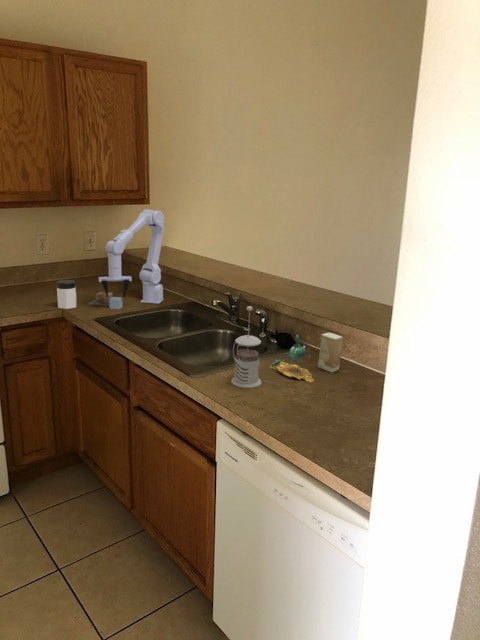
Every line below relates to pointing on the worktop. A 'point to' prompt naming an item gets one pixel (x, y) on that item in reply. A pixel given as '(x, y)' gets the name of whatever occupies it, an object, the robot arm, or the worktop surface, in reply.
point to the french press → (246, 361)
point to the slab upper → (104, 295)
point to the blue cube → (116, 302)
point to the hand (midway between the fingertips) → (115, 296)
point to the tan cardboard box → (102, 301)
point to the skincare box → (330, 352)
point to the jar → (66, 294)
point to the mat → (98, 303)
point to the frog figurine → (294, 370)
